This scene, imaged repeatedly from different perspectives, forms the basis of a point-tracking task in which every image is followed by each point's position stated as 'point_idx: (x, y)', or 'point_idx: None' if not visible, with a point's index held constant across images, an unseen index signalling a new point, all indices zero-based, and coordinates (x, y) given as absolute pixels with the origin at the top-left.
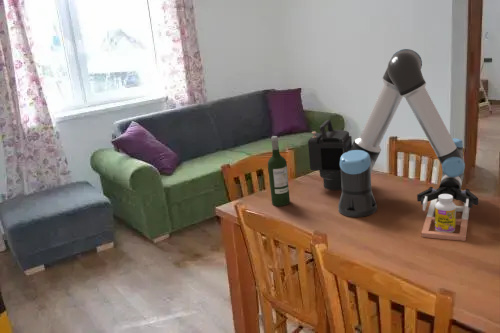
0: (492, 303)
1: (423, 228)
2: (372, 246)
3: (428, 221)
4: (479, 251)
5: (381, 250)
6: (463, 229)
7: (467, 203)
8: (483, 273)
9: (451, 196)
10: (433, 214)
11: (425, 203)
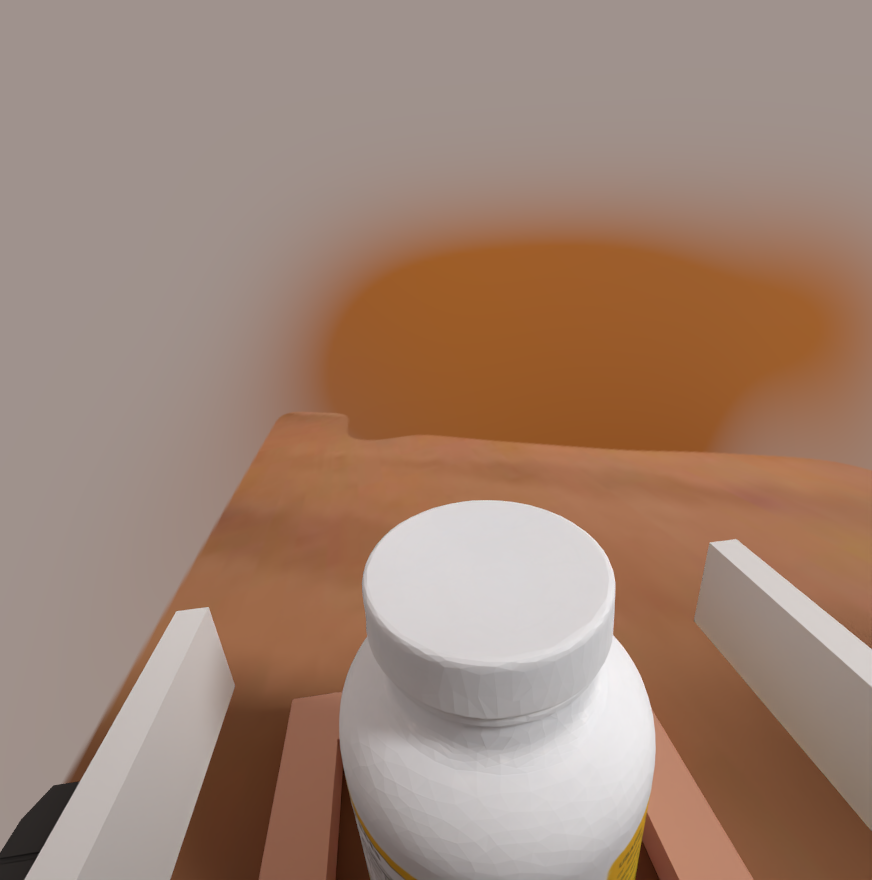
0: (273, 436)
1: (657, 729)
2: (742, 512)
3: None
4: (236, 624)
5: (676, 502)
6: (293, 855)
7: (140, 691)
8: (265, 502)
9: (387, 583)
10: None
11: (737, 589)
